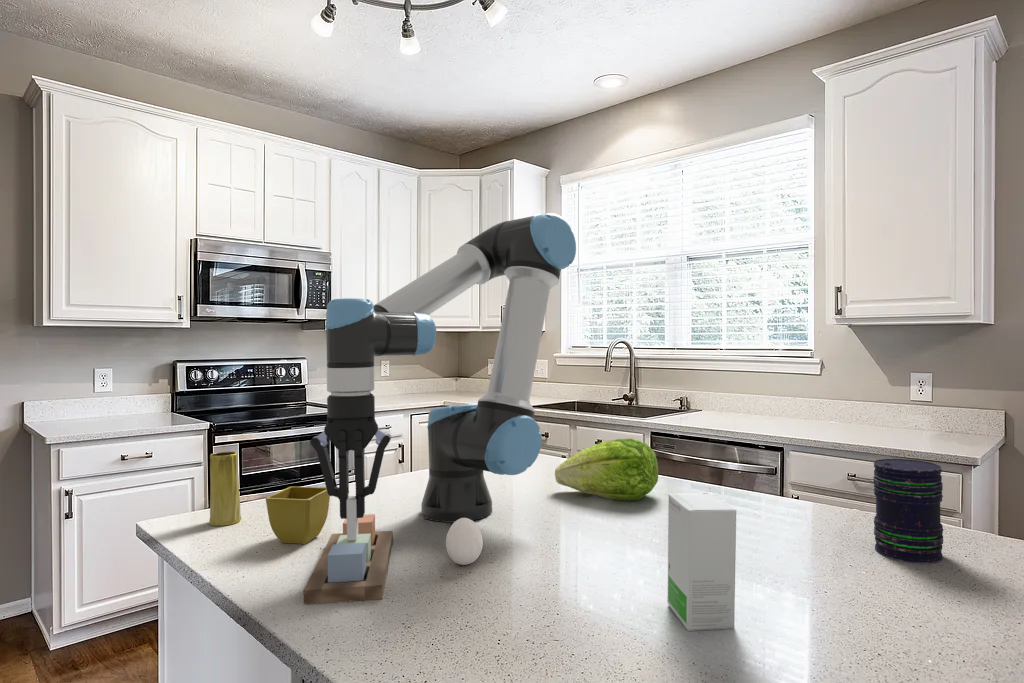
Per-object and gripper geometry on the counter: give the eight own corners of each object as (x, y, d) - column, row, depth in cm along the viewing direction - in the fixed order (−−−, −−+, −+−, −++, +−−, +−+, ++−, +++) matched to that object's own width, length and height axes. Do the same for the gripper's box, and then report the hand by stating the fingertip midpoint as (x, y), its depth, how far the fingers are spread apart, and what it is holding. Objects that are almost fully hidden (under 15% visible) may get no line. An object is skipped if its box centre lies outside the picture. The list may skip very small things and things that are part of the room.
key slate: (366, 568, 98) (365, 542, 98) (362, 580, 93) (362, 553, 93) (333, 570, 97) (332, 544, 97) (328, 582, 92) (327, 555, 92)
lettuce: (565, 456, 161) (545, 435, 149) (661, 447, 152) (647, 425, 141) (564, 512, 154) (543, 495, 142) (665, 507, 145) (651, 488, 133)
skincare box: (666, 604, 87) (665, 492, 87) (713, 602, 88) (711, 490, 88) (688, 633, 79) (686, 509, 79) (739, 630, 80) (737, 507, 79)
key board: (393, 541, 117) (393, 530, 117) (382, 598, 91) (382, 584, 91) (332, 544, 115) (331, 533, 115) (303, 604, 90) (303, 590, 90)
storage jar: (933, 546, 109) (932, 460, 109) (952, 566, 100) (951, 472, 100) (868, 541, 112) (867, 457, 112) (881, 560, 103) (879, 468, 103)
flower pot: (309, 549, 113) (308, 499, 113) (265, 546, 115) (264, 497, 115) (332, 533, 122) (331, 487, 122) (291, 531, 124) (290, 486, 124)
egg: (441, 561, 106) (440, 515, 106) (475, 555, 108) (474, 511, 108) (452, 573, 100) (452, 525, 100) (488, 567, 103) (487, 520, 103)
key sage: (371, 557, 106) (370, 533, 106) (368, 567, 101) (367, 543, 101) (340, 559, 105) (340, 535, 105) (336, 569, 100) (335, 544, 100)
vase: (214, 528, 127) (212, 457, 127) (205, 522, 131) (203, 453, 131) (245, 522, 131) (244, 453, 131) (235, 516, 135) (234, 449, 135)
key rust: (375, 536, 114) (374, 514, 114) (372, 545, 109) (372, 522, 109) (346, 537, 113) (346, 515, 113) (343, 546, 108) (342, 523, 108)
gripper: (392, 390, 107) (394, 528, 108) (314, 392, 106) (315, 532, 106) (390, 394, 100) (391, 542, 100) (305, 396, 98) (307, 547, 98)
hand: (352, 537), depth 103 cm, fingers closed
